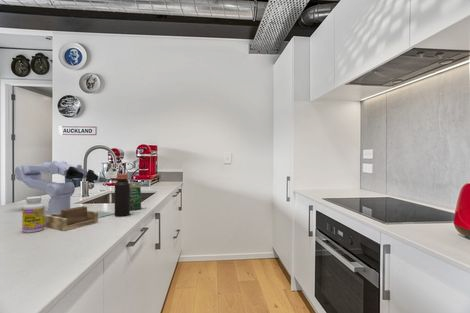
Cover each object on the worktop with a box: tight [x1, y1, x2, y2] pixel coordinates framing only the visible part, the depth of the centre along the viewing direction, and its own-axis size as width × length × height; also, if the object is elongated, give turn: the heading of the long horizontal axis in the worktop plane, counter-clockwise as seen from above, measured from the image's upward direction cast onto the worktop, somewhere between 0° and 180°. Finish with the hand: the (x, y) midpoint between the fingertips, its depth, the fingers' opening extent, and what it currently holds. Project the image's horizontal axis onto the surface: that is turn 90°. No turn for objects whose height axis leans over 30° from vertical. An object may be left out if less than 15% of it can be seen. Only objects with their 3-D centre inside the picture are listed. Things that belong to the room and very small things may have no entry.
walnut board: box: [61, 205, 88, 226], centre depth 107 cm, size 3×9×7 cm, turn 154°
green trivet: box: [94, 210, 115, 219], centre depth 125 cm, size 12×12×1 cm
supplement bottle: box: [21, 195, 45, 234], centre depth 99 cm, size 7×7×13 cm
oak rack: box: [44, 209, 99, 232], centre depth 109 cm, size 18×14×4 cm
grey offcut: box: [51, 212, 61, 217], centre depth 111 cm, size 4×7×2 cm, turn 158°
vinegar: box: [114, 173, 131, 217], centre depth 125 cm, size 7×7×20 cm
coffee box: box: [130, 184, 142, 211], centre depth 137 cm, size 8×3×13 cm, turn 122°
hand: (90, 177), depth 116 cm, fingers open, 7 cm apart
